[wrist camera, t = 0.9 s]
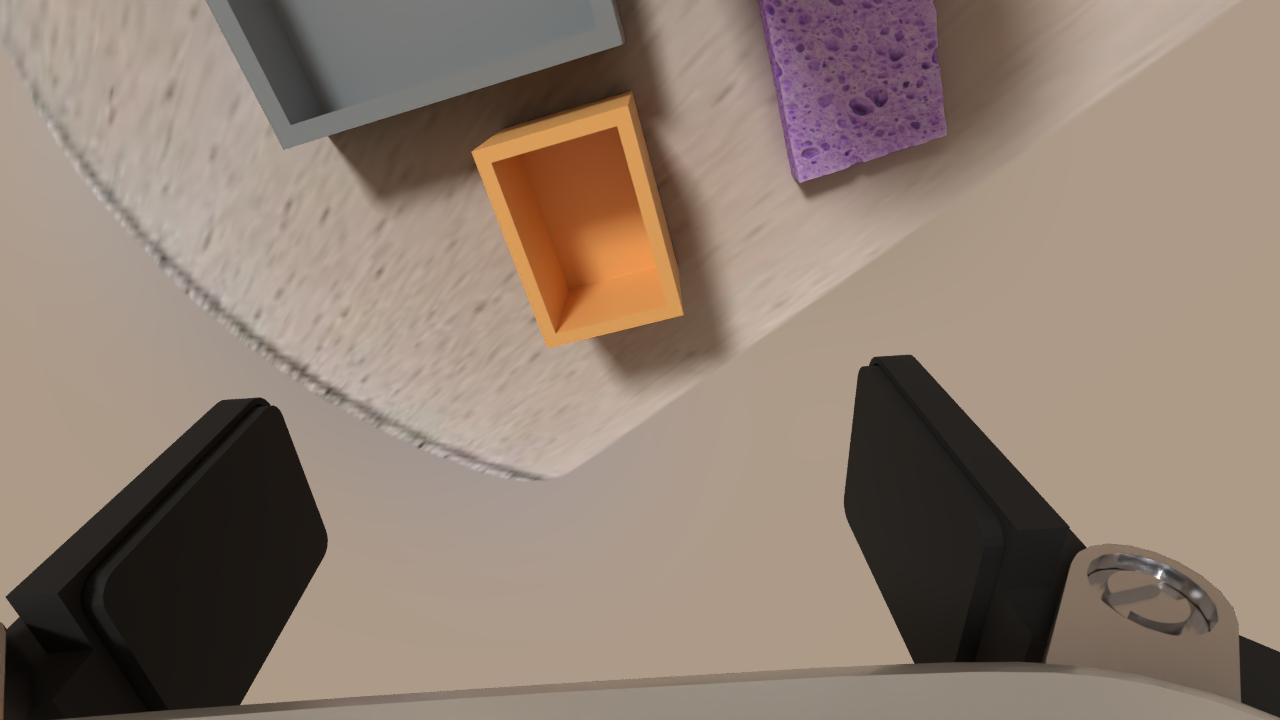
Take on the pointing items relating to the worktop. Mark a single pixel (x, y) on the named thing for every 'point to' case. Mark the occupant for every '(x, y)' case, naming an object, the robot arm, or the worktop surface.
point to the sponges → (853, 79)
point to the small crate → (583, 220)
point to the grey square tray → (397, 52)
